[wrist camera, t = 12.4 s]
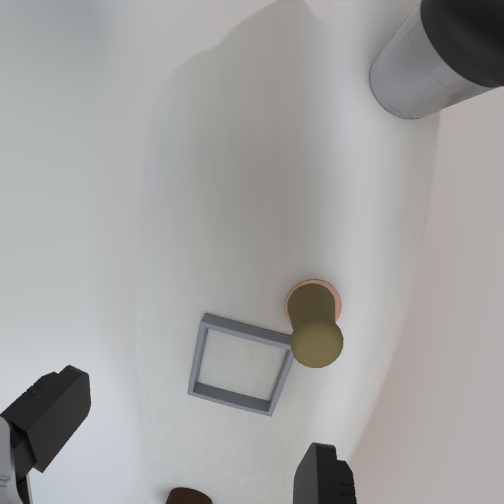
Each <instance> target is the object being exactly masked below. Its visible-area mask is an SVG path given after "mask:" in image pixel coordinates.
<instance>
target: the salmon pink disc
mask: <svg viewBox="0 0 504 504" xmlns="http://www.w3.org/2000/svg"><path fill="white" fill-rule="evenodd" d="M311 283H316V284H320V285H323V286H324V287H326V288H328V289H329V290H330V292H331V293H332V294H333V296H334V299H335V322H336V321H337V319H338V317H339V315H340V312H341V300H340V297H339V294H338V292H337V291H336V289H335V288H334V287H333V286H332V285H330V284H329V283H327V282H324V281H321V280H307V281H304V282H302V283H300V284H298V285H296V286H295V287H294V288H293V289H292V290H291V291H290V293H289V295H288V297H287V299H286V305H285V311H286V315H287V318H288V320H289V322H290V323H291V321H290V318H289V314H288V311H287V303H288V299H289V297H290V295H291V294H292V292H293V291H294V290H296V289H297V288H298V287H299V286H302V285H305V284H311Z"/></svg>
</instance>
